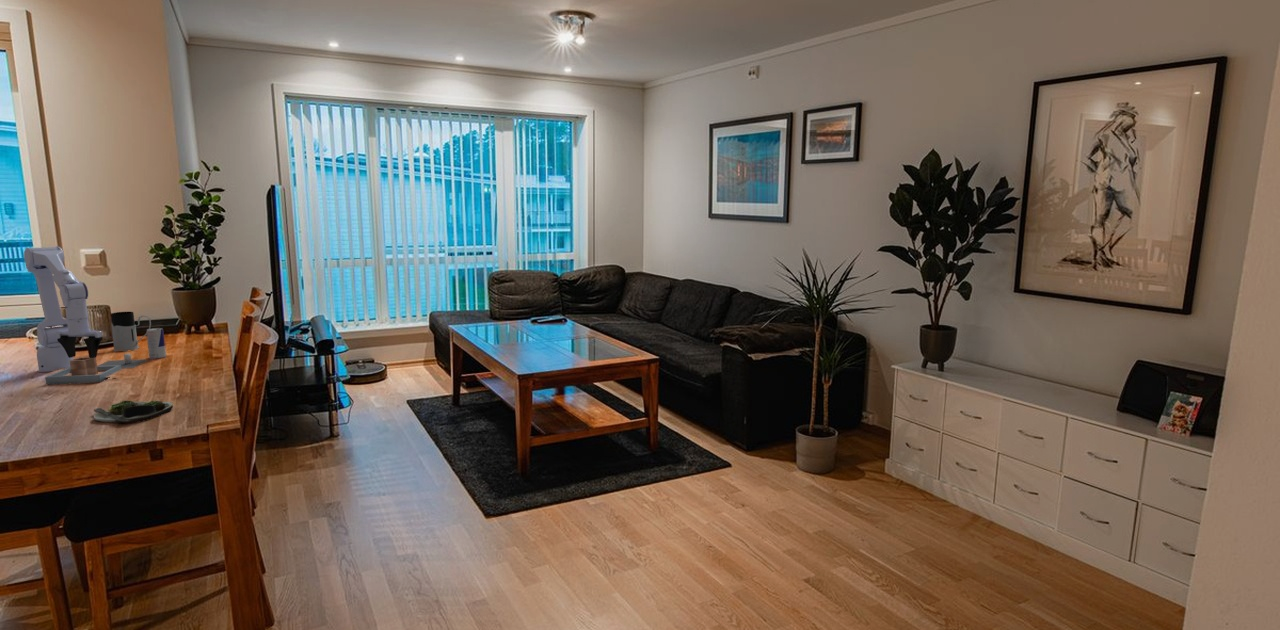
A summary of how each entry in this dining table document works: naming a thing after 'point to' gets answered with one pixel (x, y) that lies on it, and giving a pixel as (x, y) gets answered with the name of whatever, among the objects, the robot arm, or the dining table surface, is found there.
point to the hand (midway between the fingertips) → (82, 357)
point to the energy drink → (156, 343)
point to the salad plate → (132, 411)
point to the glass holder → (125, 331)
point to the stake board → (124, 366)
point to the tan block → (83, 366)
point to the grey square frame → (82, 376)
